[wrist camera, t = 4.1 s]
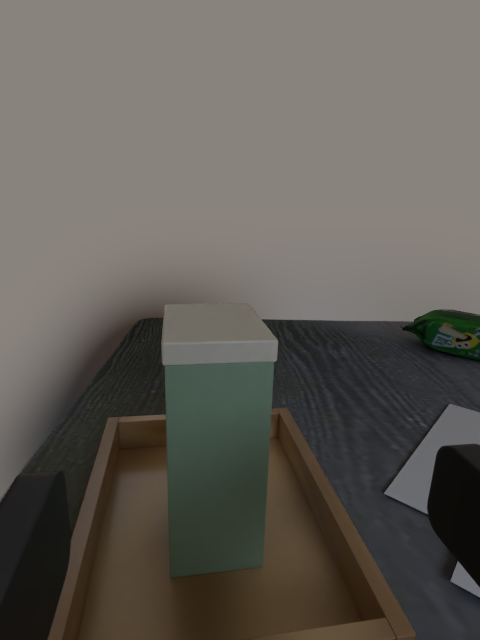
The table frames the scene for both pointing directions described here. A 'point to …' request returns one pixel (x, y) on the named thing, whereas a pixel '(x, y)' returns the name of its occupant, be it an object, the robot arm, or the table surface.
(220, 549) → the green lidded canister
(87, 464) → the table surface
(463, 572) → the paper stack
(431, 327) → the snack package
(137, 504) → the desk tray
